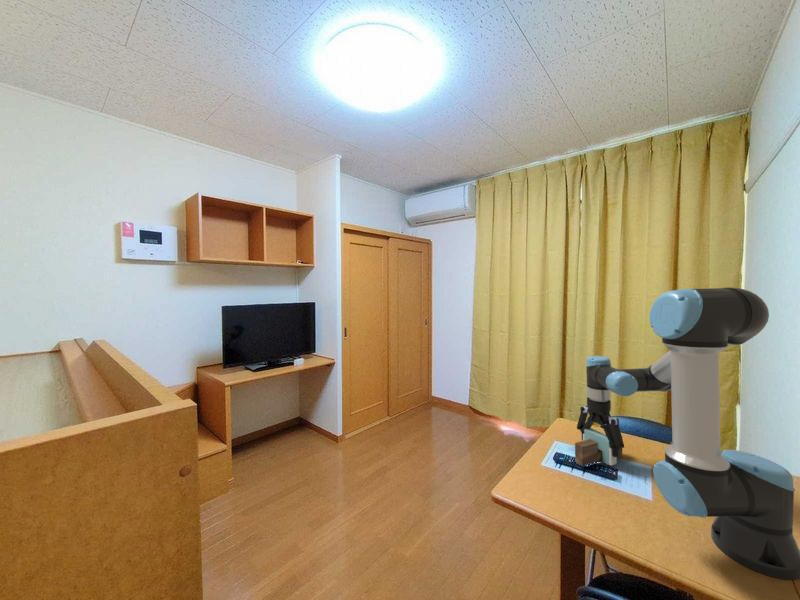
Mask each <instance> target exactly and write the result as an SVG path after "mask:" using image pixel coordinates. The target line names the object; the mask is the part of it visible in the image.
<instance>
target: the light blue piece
mask: <svg viewBox="0 0 800 600" xmlns="http://www.w3.org/2000/svg"><path fill="white" fill-rule="evenodd" d="M588 439H591V440H593V441H595V442H597V443H598V449H600V450H601V451H602V459H603V463H604V464H606V465H607V466H610V465H609V447H610V446H611V445H610V443H609V440H608V438H607V436H606V434H605V433H603V432H600V431H599V430H597V429H594V428H592V427H591V428H589V429H584V440H588Z"/></svg>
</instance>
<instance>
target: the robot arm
mask: <svg viewBox="0 0 800 600" xmlns="http://www.w3.org/2000/svg"><path fill="white" fill-rule="evenodd" d="M648 315H649V324H650V327H651V328H653V329H652V331H653V332H654V334H655V335H656V336H658V337H660V338H661V339H662V340H661V341H662V342H661V343H662V345H663V346H665V347H666V348H667V349H669V350H668V351H666V353H665V354H663V355H662V356H661V357H660V358H657V360H656V361H654V363H652V364H651V365H650V366H648V367H644V368H620V369H619V368H615V367H612V363H611V359H610V358H609V357H606V356H604V355H603V356H602V355H590V356H588V357H587V358H586V366H585V368H586V405H584V406H580V413H579V417H578V421H577V424H576V429H577V430H579V431H580V433H581V441H584V429H589V428H592V426H593V424H594V423H596V424H597V425H600V427H601V429H603V431H604V434H605V435H606V436H607V438H608V440H609V443H610V445H611V446H610V447H609V465H608V466H614V465H617V464H618V463H617V459H618V458H617V457H618V449H621V448H622V449H624V448H625V444H624V440H623V435H622V433H621V428H620V419H619V418H614V417H612V416H611V414H610V412H611V410H612V400H611V397H612V396H611V392H612V393H614V394H616V395H619V396H621V397H631V396H632V395H634V394H635V393H636V392H637V393H638V392H639V393H641V392H667V391H670V392H671V393H670V395H671V396H670V397H671V429H672V430H671V431H672V432H671V435H672V438H671V439H672V441H673V444H672V445H671V444H670V445H668V446H666V447H665V449H664V460H659V461H657V462H656V463H655V464H654V465H653V469H652V470H653V471H652V473H653V474H652V475H653V478H654V481H655V485H656V487H657V488H658V491H659V493H661V495H662V497H663V499H664V500H665V501H666V502H667V503H668V504H669V506H670V507H672V509H674V510H675V511H676V512H677V513H679V514H681V515H683V516H687V517H698V518H700V519H701V518H702V519H704V518H706V517H711V518H712V517H714V518H715V519H714V520H713V522H712V524H711V527H710V536H711V539H712V540H711V541H713V543H714V544H715V546H716V547H717V548H718V549H719V550H720V551H721V552H722V553H724V554H725V555H727V556H728V557H729V558H730V559H732V560H734V561H736V562H737V563H739V564H740V565H742V566H744V567H746V568H748V569H751V570H753V571H755V572H758V573H760V574H762V575H766V576H768V577H773V578H775V579H780V580H782V579H783V580H791V581H792V580H798V579H800V548H799V546H798V543H797V541H796V539H795V536H794V534H793V531H794V530H793V529H794V528H793V526H794V524H793V523H794V505H795V503H794V500H795V498H794V497H795V492H796V489H795V488H794V487H795V486H794V478H793V475H792V474H791V473H790V471H789V470H788V469H786V468H785V467H784V466H782V465H781V464H779V463H776V462H774V461H772V460H770V459H767V458H765V457H762V456H760V455H756V454H753V453H750V452H746V451H741V450H737V449H723V450H722V451H721V449H722V448H721V414H720V413H721V412H720V411H721V408H720V406H721V405H720V361H719V360H720V359H719V354H720V353H722V352H724V351H725V350H726V349H728V348H729V347H731V346H741V345H743V344H745V343H746V342H748V341H750V340H751V339H753V338H754V337H755V336H757V335H758V334H759V333H761V332H762V331H763V329H765V327H766V326H767V324H768V322H769V318H770V312H769V308H768V305H767V304H766V302H765V301H764V300H763V299H762V298H761V297H760V296H759V295H758V294H756V293H754V292H752V291H750V290H747V289H743V288H739V287H716V288H715V287H712V288H710V287H709V288H683V289H674V290H669V291H665V292H663V293H661V294H660V295H659V296H658V297H657V299H655V300H654V301H653V303H652V305H651V307H650V309H649V314H648ZM672 441H671V442H672Z"/></svg>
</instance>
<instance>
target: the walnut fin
mask: <svg viewBox="0 0 800 600" xmlns="http://www.w3.org/2000/svg"><path fill="white" fill-rule="evenodd" d="M574 455H575V456H574V460H575V461H574V463H575V462H576V463H578V464H580V465H581V466H583V465H585V464H588V463H594V462H595V463H597V462H603V459H602V451H601V450H600V449H598V443H597V442H595V441H593V440H591V439H588V440H584V441H582V440H581V441H577V442H575V443H574ZM622 457H623V448H621V449H618V457H617V459H619V458H622ZM603 463H604V462H603Z"/></svg>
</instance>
